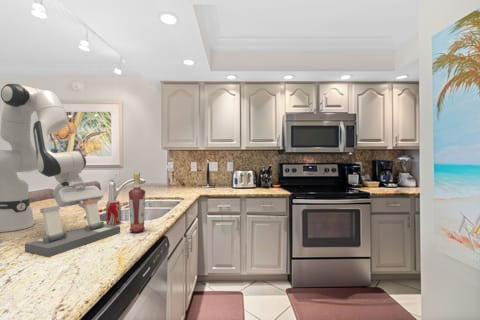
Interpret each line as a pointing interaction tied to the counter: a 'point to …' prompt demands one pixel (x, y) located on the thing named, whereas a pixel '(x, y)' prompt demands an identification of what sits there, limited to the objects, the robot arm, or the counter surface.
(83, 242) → the switch board
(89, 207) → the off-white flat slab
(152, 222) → the counter surface
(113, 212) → the soda can
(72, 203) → the robot arm
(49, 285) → the counter surface
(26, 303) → the counter surface
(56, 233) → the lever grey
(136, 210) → the liquor
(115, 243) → the counter surface
